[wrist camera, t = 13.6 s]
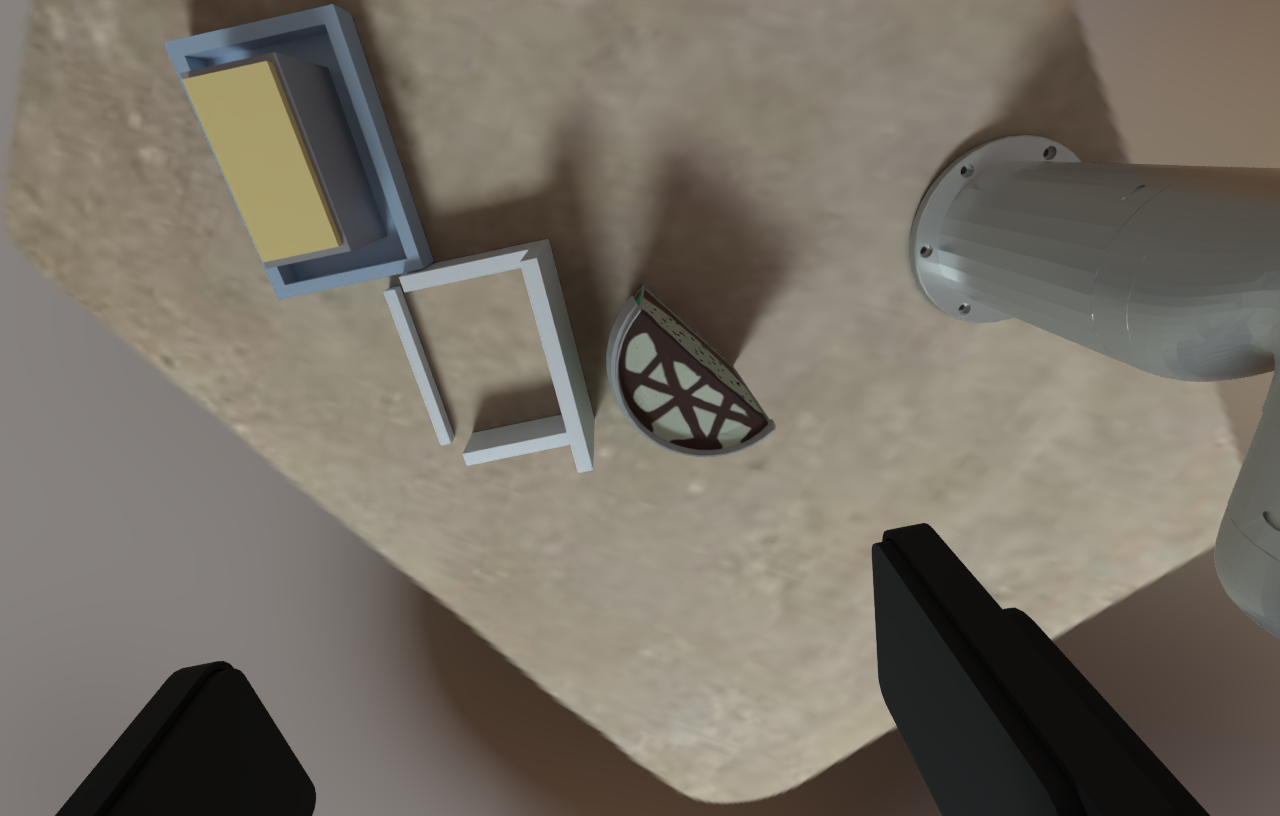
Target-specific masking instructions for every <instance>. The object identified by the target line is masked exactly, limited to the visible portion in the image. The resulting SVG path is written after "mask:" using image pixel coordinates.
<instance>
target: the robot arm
mask: <svg viewBox="0 0 1280 816" xmlns="http://www.w3.org/2000/svg"><path fill="white" fill-rule="evenodd" d="M962 167H963V172H962V173H961V168H962ZM922 247H923V248H924V249H923V251H922V252H921V253H920V251H921V249H922ZM909 256H910V262H911V268H912V273H913V275H914V278H915V281H916V283H917V286H918V287H919V289H920V290H921V292H922V293H923V295H924V296H925V297H926V299H927V300H929V301H930V302H931V303H932V304H933V305H934V306H935V307H936V308H938V309H940V310H941V311H943V312H945V313H947V314H949V315H951V316H953V317H955V318H958V319H960V320H965V321H970V322H976V323H984V322H997V321H1001V320H1006V319H1010V318H1013V317H1015V318H1017V319H1020V320H1022V321H1024V322H1027V323H1029V324H1032V325H1034V326H1036V327H1039V328H1041V329H1044V330H1046V331H1048V332H1051V333H1053V334H1056V335H1058V336H1060V337H1063V338H1065V339H1068V340H1070V341H1072V342H1075V343H1077V344H1080V345H1082V346H1084V347H1087V348H1089V349H1091V350H1094V351H1096V352H1099V353H1101V354H1103V355H1106V356H1109V357H1111V358H1113V359H1116V360H1118V361H1121V362H1124V363H1126V364H1129V365H1131V366H1133V367H1136V368H1138V369H1141V370H1143V371H1146V372H1148V373H1151V374H1155V375H1158V376H1161V377H1165V378H1170V379H1175V380H1181V381H1192V382H1214V381H1224V380H1232V379H1239V378H1245V377H1251V376H1255V375H1259V374H1264V373H1268V372H1272V371H1274V375H1273V379H1272V382H1271V385H1270V388H1269V392H1268V394H1267V397H1266V400H1265V402H1264V405H1263V408H1262V412H1263V414H1262V416H1261V419H1260V421H1259V424H1258V426H1257V429H1256V432H1255V434H1254V437H1253V440H1252V442H1251V444H1250V447H1249V450H1248V452H1247V455H1246V457H1245V460H1244V462H1243V465H1242V468H1241V470H1240V473H1239V475H1238V478H1237V480H1236V483H1235V486H1234V488H1233V491H1232V493H1231V496H1230V498H1229V501H1228V505H1227V508H1226V511H1225V513H1224V516H1223V519H1222V521H1221V525H1220V528H1219V532H1218V535H1217V539H1216V545H1215V565H1216V569H1217V574H1218V577H1219V580H1220V582H1221V583H1222V585H1223V587H1224V589H1225V591H1226V592H1227V594H1228V595H1229V596H1230V598H1231V599H1232V600H1233V601H1234V602H1235V603H1236V604H1237V606H1238V607H1239V608H1240V609H1241V610H1242V611H1243V612H1245V614H1247V615H1248V616H1249V617H1250V618H1251V619H1253V620H1254V621H1255V622H1256V623H1257V624H1259V625H1260V626H1261V627H1263V628H1264V629H1266V630H1267V631H1268V632H1270V633H1272V634H1273V635H1275V636H1276V637H1278V638H1279V639H1280V168H1250V167H1213V166H1178V165H1148V164H1115V163H1083V162H1082V161H1081V160H1080V159H1079V158H1078V157H1077V155H1076V154H1075V153H1074V152H1073V151H1072V150H1070V149H1069V148H1067V147H1066V146H1064V145H1063V144H1061V143H1060V142H1057V141H1054V140H1052V139H1049V138H1046V137H1041V136H1031V135H1017V136H1007V137H1002V138H998V139H993V140H990V141H988V142H986V143H983V144H981V145H978V146H976V147H974V148H972V149H971V150H969V151H968V152H966V153H965V154H963V155H961V156H960V157H958V158H957V159H956V160H955V161H954V162H953V163H952V164H950V165H949V166H948V167H947V168H946V169H945V170H944V171H943V172H942V173H941V174H940V175H939V177H938V178H937V179H936V180H935V182H934V183H933V184H932V185H931V186H930V188H929V190H928V192H927V193H926V195H925V197H924V198H923V200H922V202H921V203H920V206H919V209H918V211H917V214H916V216H915V219H914V222H913V226H912V231H911V236H910V252H909ZM960 306H961V307H960ZM959 307H960V308H959ZM872 566H873V585H874V604H875V622H876V641H877V660H878V678H879V684H880V688H881V692H882V695H883V698H884V701H885V703H886V705H887V707H888V709H889V711H890V713H891V715H892V717H893V719H894V721H895V723H896V725H897V727H898V729H899V731H900V733H901V735H902V737H903V739H904V741H905V743H906V745H907V747H908V749H909V750H910V753H911V755H912V757H913V759H914V761H915V763H916V764H917V767H918V769H919V770H920V773H921V774H922V777H923V779H924V781H925V783H926V784H927V786H928V788H929V790H930V792H931V794H932V796H933V798H934V800H935V802H936V804H937V806H938V808H939V810H940V812H941V814H942V816H1210V815H1209V814H1208V813H1207V812H1206V811H1205V809H1204V808H1203V807H1202V806H1201V805H1200V804H1199V803H1198V802H1197V801H1196V799H1195V798H1194V797H1193V796H1192V795H1191V794H1190V793H1189V792H1188V791H1187V790H1186V788H1185V787H1184V786H1183V785H1182V784H1181V783H1180V782H1179V781H1178V780H1177V779H1176V777H1174V775H1173V774H1172V773H1171V772H1170V771H1169V770H1168V769H1167V767H1166V766H1165V765H1164V764H1163V763H1162V762H1161V761H1160V760H1159V759H1158V758H1157V756H1156V755H1155V754H1154V753H1153V752H1152V751H1151V750H1150V749H1149V748H1148V747H1147V745H1146V744H1145V743H1144V742H1143V741H1142V740H1141V739H1140V738H1139V737H1138V736H1137V735H1136V733H1135V732H1134V731H1133V730H1132V729H1131V728H1130V727H1129V726H1128V724H1127V723H1126V722H1125V721H1124V720H1123V719H1122V718H1121V717H1120V716H1119V715H1118V713H1117V712H1116V711H1115V710H1114V709H1113V708H1112V707H1111V706H1110V705H1109V704H1108V702H1107V701H1106V700H1105V699H1104V698H1103V697H1102V696H1101V695H1100V694H1099V692H1098V691H1097V690H1096V689H1095V688H1094V687H1093V686H1092V685H1091V684H1090V683H1089V682H1088V680H1087V679H1086V678H1085V677H1084V676H1083V675H1082V674H1081V673H1080V671H1079V670H1078V669H1077V668H1076V667H1075V666H1074V665H1073V664H1072V663H1071V662H1070V660H1069V659H1068V658H1067V657H1066V656H1065V655H1064V654H1063V653H1062V652H1061V651H1060V649H1059V648H1058V647H1057V646H1056V645H1055V644H1054V643H1053V642H1052V641H1051V639H1050V638H1049V637H1048V636H1047V635H1046V634H1045V633H1044V632H1043V631H1042V630H1041V628H1040V627H1039V626H1038V625H1037V624H1036V623H1035V622H1034V621H1033V620H1032V619H1031V618H1030V617H1029V616H1028V615H1027V614H1025V613H1024V612H1023V611H1021V610H1019V609H1017V608H1007V609H1002V608H1001V607H1000V606H999V605H998V604H997V602H996V601H995V600H994V599H993V598H992V597H991V595H990V594H989V593H988V592H987V591H986V590H985V588H984V587H983V586H982V585H981V584H980V583H979V581H978V580H977V579H976V578H975V577H974V576H973V575H972V573H971V572H970V571H969V570H968V569H967V568H966V566H965V565H964V564H963V563H962V562H961V561H960V559H959V558H958V557H957V556H956V555H955V554H954V552H953V551H952V550H951V549H950V548H949V547H948V546H947V544H946V543H945V542H944V541H943V540H942V539H941V537H940V536H939V535H938V534H937V533H936V532H935V530H934V529H933V528H932V527H931V526H930V525H928V524H926V523H921V524H916V525H911V526H906V527H901V528H896V529H891V530H886V531H885V532H884V534H883V540H882V542H879V543H875V544H873V546H872ZM315 803H316V792H315V787H314V785H313V783H312V781H311V780H310V778H309V776H308V775H307V773H306V772H305V770H304V769H303V767H302V765H301V764H300V762H299V761H298V759H297V757H296V756H295V754H294V753H293V751H292V750H291V748H290V746H289V745H288V743H287V742H286V740H285V739H284V737H283V735H282V734H281V732H280V731H279V729H278V727H277V726H276V724H275V723H274V721H273V719H272V718H271V716H270V715H269V713H268V712H267V710H266V708H265V707H264V705H263V704H262V702H261V700H260V699H259V697H258V696H257V694H256V693H255V691H254V689H253V688H252V686H251V685H250V683H249V681H248V680H247V678H246V677H245V675H244V674H243V673H242V672H241V671H240V670H238V669H234V668H233V667H232V665H230V664H229V663H227V662H224V661H217V662H212V663H207V664H202V665H197V666H192V667H186V668H182V669H180V670H178V671H176V672H174V673H173V674H172V675H171V676H170V677H169V678H168V679H167V680H166V681H165V683H164V684H163V685H162V686H161V687H160V689H159V690H158V691H157V692H156V694H155V695H154V696H153V697H152V698H151V700H150V701H149V702H148V703H147V704H146V706H145V707H144V708H143V709H142V711H141V712H140V713H139V714H138V715H137V717H136V718H135V719H134V720H133V722H132V723H131V724H130V725H129V727H128V728H127V729H126V730H125V731H124V733H123V734H122V735H121V736H120V737H119V739H118V740H117V741H116V742H115V744H114V745H113V746H112V747H111V748H110V749H109V751H108V752H107V753H106V755H105V756H104V757H103V758H102V759H101V760H100V762H99V763H98V764H97V765H96V767H95V768H94V769H93V770H92V771H91V773H90V774H89V775H88V776H87V777H86V779H85V780H84V781H83V782H82V784H81V785H80V786H79V787H78V788H77V790H76V791H75V792H74V793H73V794H72V796H71V797H70V798H69V799H68V800H67V802H66V803H65V804H64V805H63V807H62V808H61V809H60V810H59V811H58V813H57V814H56V815H55V816H312V814H313V811H314V809H315Z"/></svg>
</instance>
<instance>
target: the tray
mask: <svg viewBox="0 0 1280 816" xmlns="http://www.w3.org/2000/svg"><path fill="white" fill-rule="evenodd" d="M164 46H165V48H166V50H167V52H168V54H169V57H170V59H171V61H172V63H173V66H174V68H175V70H176V72H177V75H178V77H179V79H180V81H181V84H182V86H183V88H184V90H185V92H186V95H187V97H188V99H189V101H190V104H191V106H192V108H193V110H194V113H195V115H196V117H197V119H198V121H199V124H200V126H201V128H202V130H203V133H204V135H205V137H206V139H207V142H208V144H209V146H210V148H211V150H212V153H213V155H214V157H215V159H216V162H217V164H218V166H219V168H220V171H221V173H222V175H223V177H224V179H225V182H226V184H227V186H228V188H229V185H228V183H227V181H226V178H225V176H224V174H223V172H222V169H221V167H220V165H219V163H218V160H217V158H216V156H215V154H214V151H213V149H212V147H211V145H210V142H209V140H208V138H207V136H206V133H205V131H204V129H203V126H202V124H201V122H200V120H199V117H198V115H197V113H196V111H195V108H194V106H193V104H192V102H191V99H190V97H189V95H188V93H187V90H186V88H185V86H184V84H183V81H182V77H181V75H180V73H183V72H187V71H192V70H196V69H201V68H206V67H210V66H215V65H219V64H224V63H228V62H233V61H237V60H242V59H246V58H251V57H255V56H260V55H265V54H269V53H274V52H276V53H280V54H283V55H287V56H290V57H293V58H297V59H300V60H304V61H307V62H311V63H314V64H317V65H321V66H324V67H328V68H329V71H330V74H331V77H332V80H333V82H334V85H335V88H336V91H337V94H338V97H339V99H340V102H341V105H342V108H343V111H344V114H345V116H346V119H347V122H348V125H349V128H350V131H351V133H352V136H353V139H354V142H355V145H356V148H357V150H358V153H359V156H360V159H361V162H362V164H363V167H364V170H365V173H366V176H367V179H368V181H369V184H370V187H371V190H372V193H373V196H374V198H375V201H376V204H377V207H378V210H379V213H380V215H381V218H382V221H383V224H384V227H385V230H386V232H387V235H388V236H386V237H384V238H382V239H379V240H377V241H374V242H372V243H369V244H367V245H364V246H362V247H359V248H357V249H355V250H352V251H348V252H344V253H339V254H334V255H329V256H325V257H320V258H315V259H310V260H306V261H301V262H296V263H291V264H287V265H282V266H277V267H272V268H268V269H266V267H265V265H264V263H263V262H262V260H261V258H260V255H259V253H258V251H257V249H256V246H255V244H254V242H253V240H252V237H251V235H250V233H249V230H248V228H247V226H246V224H245V221H244V219H243V217H242V215H241V212H240V210H239V208H238V206H237V203H236V201H235V199H234V197H233V194H232V192H231V190H230V188H229V191H230V193H231V195H232V197H233V200H234V202H235V204H236V206H237V209H238V211H239V213H240V215H241V217H242V220H243V222H244V224H245V226H246V229H247V231H248V233H249V235H250V238H251V240H252V242H253V244H254V246H255V249H256V251H257V253H258V255H259V258H260V260H261V262H262V264H263V267H264V269H265V271H266V273H267V275H268V278H269V280H270V282H271V284H272V287H273V289H274V291H275V293H276V296H277V298H278V300H279V299H284V298H289V297H293V296H298V295H303V294H307V293H312V292H317V291H321V290H326V289H331V288H335V287H340V286H345V285H349V284H354V283H359V282H363V281H368V280H373V279H377V278H382V277H387V276H391V275H396V274H401V273H405V272H410V271H415V270H419V269H424V268H425V267H427V266H428V265H430V264H431V263H433V262H434V261H433V258H432V255H431V252H430V249H429V246H428V243H427V240H426V237H425V234H424V231H423V228H422V225H421V222H420V219H419V216H418V213H417V210H416V207H415V204H414V201H413V198H412V195H411V192H410V189H409V186H408V183H407V180H406V177H405V174H404V171H403V168H402V165H401V162H400V159H399V156H398V153H397V150H396V147H395V144H394V141H393V138H392V135H391V132H390V129H389V126H388V123H387V120H386V117H385V114H384V111H383V108H382V105H381V102H380V99H379V96H378V93H377V90H376V87H375V84H374V81H373V78H372V75H371V72H370V69H369V66H368V63H367V60H366V57H365V54H364V51H363V48H362V45H361V42H360V39H359V36H358V33H357V30H356V27H355V24H354V21H353V18H352V15H351V13H349V12H347V11H345V10H343V9H341V8H340V7H338V6H336V5H334V4H331V5H326V6H322V7H317V8H313V9H309V10H304V11H300V12H295V13H291V14H287V15H282V16H278V17H274V18H269V19H265V20H260V21H256V22H252V23H247V24H243V25H238V26H234V27H230V28H225V29H221V30H217V31H212V32H208V33H203V34H199V35H195V36H190V37H186V38H181V39H177V40H173V41H168V42H164Z"/></svg>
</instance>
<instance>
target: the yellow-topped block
mask: <svg viewBox="0 0 1280 816" xmlns="http://www.w3.org/2000/svg"><path fill="white" fill-rule="evenodd" d="M180 75H181V77H182V81H183V84H184V86H185V88H186V90H187V93H188V95H189V97H190V99H191V102H192V104H193V106H194V108H195V111H196V113H197V115H198V117H199V120H200V122H201V124H202V126H203V129H204V131H205V133H206V136H207V138H208V140H209V142H210V145H211V147H212V149H213V151H214V154H215V156H216V158H217V160H218V163H219V165H220V167H221V169H222V172H223V174H224V176H225V178H226V181H227V183H228V185H229V188H230V190H231V192H232V194H233V197H234V199H235V201H236V203H237V206H238V208H239V210H240V212H241V215H242V217H243V219H244V221H245V224H246V226H247V228H248V230H249V233H250V235H251V237H252V240H253V242H254V244H255V246H256V249H257V251H258V253H259V255H260V258H261V260H262V262H263V263H264V265H265V267H266V269H268V268H272V267H277V266H282V265H287V264H291V263H296V262H301V261H306V260H310V259H315V258H320V257H325V256H329V255H334V254H339V253H344V252H348V251H352V250H355V249H357V248H359V247H362V246H364V245H367V244H369V243H372V242H374V241H377V240H379V239H382V238H384V237H386V236H388V235H387V232H386V230H385V227H384V224H383V221H382V218H381V215H380V213H379V210H378V207H377V204H376V201H375V198H374V196H373V193H372V190H371V187H370V184H369V181H368V179H367V176H366V173H365V170H364V167H363V164H362V162H361V159H360V156H359V153H358V150H357V148H356V145H355V142H354V139H353V136H352V133H351V131H350V128H349V125H348V122H347V119H346V116H345V114H344V111H343V108H342V105H341V102H340V99H339V97H338V94H337V91H336V88H335V85H334V82H333V80H332V77H331V74H330V71H329V68H328V67H324V66H321V65H317V64H314V63H311V62H307V61H304V60H300V59H297V58H293V57H290V56H287V55H283V54H280V53H276V52H274V53H269V54H265V55H260V56H255V57H251V58H246V59H242V60H237V61H233V62H228V63H224V64H219V65H215V66H210V67H206V68H201V69H196V70H192V71H187V72H183V73H180Z"/></svg>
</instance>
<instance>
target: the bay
mask: <svg viewBox="0 0 1280 816" xmlns="http://www.w3.org/2000/svg"><path fill="white" fill-rule="evenodd" d="M517 268H521V269H522V272H523V276H524V280H525V283H526V287H527V290H528V294H529V298H530V301H531V305H532V308H533V312H534V316H535V319H536V323H537V326H538V330H539V334H540V337H541V341H542V345H543V348H544V352H545V355H546V359H547V363H548V366H549V370H550V373H551V377H552V381H553V384H554V388H555V391H556V395H557V399H558V402H559V406H560V410H561V413H562V415H557V416H552V417H547V418H543V419H538V420H533V421H528V422H523V423H518V424H513V425H509V426H504V427H499V428H494V429H489V430H484V431H479V432H475V433H472V434H471V437H470V439H469V441H468V443H467V445H466V447H465V450H464V452H463V457H464V459H465V462H466V465H467V466H468V465H473V464H478V463H483V462H488V461H493V460H498V459H502V458H507V457H512V456H517V455H522V454H527V453H532V452H537V451H542V450H547V449H551V448H556V447H561V446H566V445H570V446H571V449H572V453H573V456H574V460H575V464H576V467H577V471H578V473H581V472H586V471H591V470H593V455H594V425H595V419H594V415H593V411H592V407H591V403H590V399H589V396H588V392H587V388H586V384H585V380H584V376H583V372H582V368H581V364H580V360H579V356H578V352H577V348H576V344H575V340H574V336H573V332H572V329H571V325H570V321H569V317H568V313H567V309H566V305H565V301H564V297H563V293H562V289H561V285H560V281H559V277H558V273H557V269H556V265H555V262H554V258H553V254H552V250H551V246H550V242H549V239H544V240H540V241H535V242H531V243H526V244H521V245H517V246H512V247H507V248H503V249H498V250H493V251H489V252H484V253H479V254H475V255H470V256H465V257H461V258H456V259H451V260H447V261H442V262H437V263H433V264H430V265H428V266H427V267H425V268H424V269H419V270H415V271H410V272H406V273H405V274H403V275H402V276H400V277H399V279H400V282H401V285H402V287H403V290H404V293H405V292H409V291H414V290H419V289H423V288H428V287H433V286H437V285H442V284H447V283H451V282H456V281H461V280H466V279H470V278H475V277H480V276H484V275H489V274H494V273H498V272H503V271H508V270H512V269H517ZM384 295H385V298H386V300H387V303H388V306H389V308H390V311H391V314H392V316H393V319H394V322H395V324H396V327H397V330H398V332H399V335H400V338H401V340H402V343H403V346H404V349H405V351H406V354H407V357H408V359H409V362H410V365H411V367H412V370H413V373H414V375H415V378H416V381H417V383H418V386H419V389H420V391H421V394H422V397H423V399H424V402H425V405H426V407H427V410H428V413H429V415H430V418H431V421H432V423H433V426H434V429H435V431H436V434H437V437H438V439H439V442H440V445H446V444H451V443H452V441H453V439H454V437H455V436H454V433H453V431H452V428H451V425H450V422H449V419H448V417H447V414H446V411H445V408H444V406H443V403H442V400H441V397H440V395H439V392H438V389H437V386H436V384H435V381H434V378H433V375H432V372H431V370H430V367H429V364H428V361H427V359H426V356H425V353H424V350H423V348H422V345H421V342H420V339H419V337H418V334H417V331H416V328H415V325H414V323H413V320H412V317H411V314H410V312H409V309H408V306H407V303H406V301H405V298H404V295H403V292H402V290H401V287H400V286H396V287H392V288H388V289H387V290H385V291H384Z"/></svg>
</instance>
